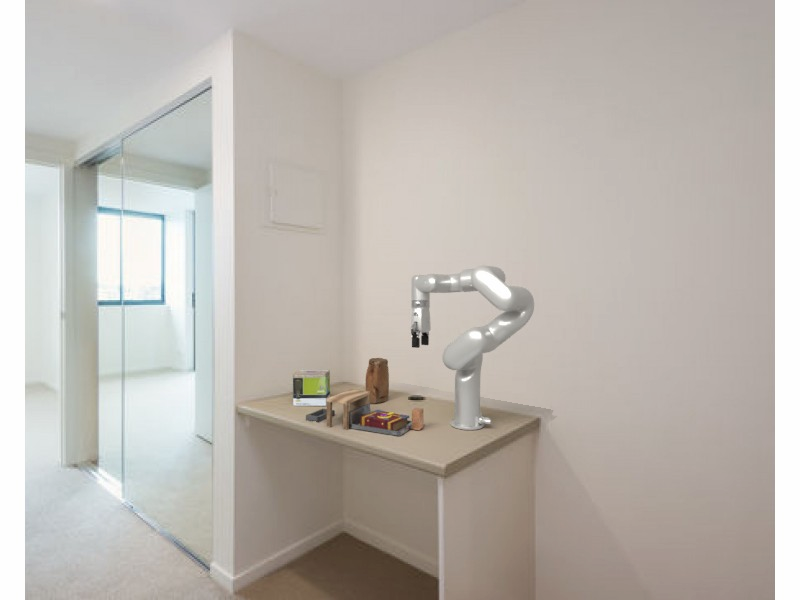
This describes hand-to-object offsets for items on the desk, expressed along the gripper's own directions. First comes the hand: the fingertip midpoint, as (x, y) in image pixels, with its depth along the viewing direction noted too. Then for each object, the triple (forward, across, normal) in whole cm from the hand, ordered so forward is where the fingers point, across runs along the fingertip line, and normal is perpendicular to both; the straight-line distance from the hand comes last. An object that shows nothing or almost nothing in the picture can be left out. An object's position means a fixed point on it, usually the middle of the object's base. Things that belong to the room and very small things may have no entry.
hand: (420, 346), depth 175 cm
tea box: (+29, -6, +51) cm, 59 cm away
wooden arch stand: (+28, -22, +20) cm, 42 cm away
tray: (+28, -22, +4) cm, 36 cm away
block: (+28, +10, +26) cm, 40 cm away
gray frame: (+28, -22, +34) cm, 50 cm away
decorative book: (+29, -22, +6) cm, 37 cm away
